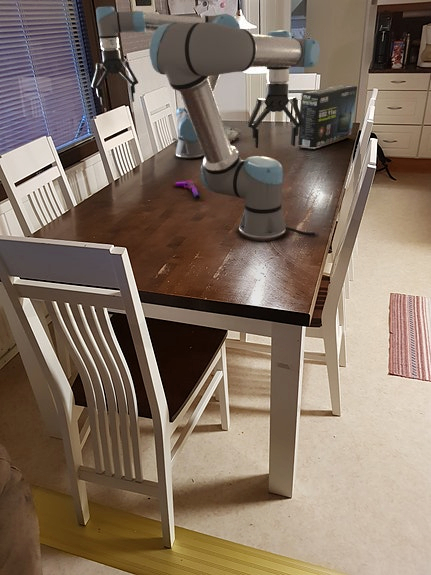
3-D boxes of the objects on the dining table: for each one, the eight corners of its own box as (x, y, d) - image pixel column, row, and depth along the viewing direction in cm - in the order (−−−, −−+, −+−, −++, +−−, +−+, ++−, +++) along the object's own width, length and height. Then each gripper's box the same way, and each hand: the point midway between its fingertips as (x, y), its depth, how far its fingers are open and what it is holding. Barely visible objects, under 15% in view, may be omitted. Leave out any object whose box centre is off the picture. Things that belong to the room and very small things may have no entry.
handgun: (174, 185, 194) (174, 180, 193) (192, 183, 195) (192, 178, 194) (181, 201, 176) (180, 197, 175) (200, 199, 177) (200, 194, 176)
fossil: (231, 137, 247) (212, 119, 250) (221, 153, 253) (203, 136, 256) (247, 135, 260) (230, 119, 264) (237, 151, 267) (220, 135, 270)
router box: (314, 151, 231) (318, 94, 217) (296, 148, 237) (299, 92, 224) (352, 138, 251) (358, 85, 238) (335, 135, 258) (340, 83, 245)
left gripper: (82, 51, 186) (91, 107, 197) (141, 48, 194) (147, 101, 205) (79, 51, 192) (88, 104, 203) (136, 47, 200) (142, 99, 211)
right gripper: (309, 80, 160) (305, 142, 171) (239, 82, 158) (239, 145, 169) (316, 82, 154) (311, 146, 165) (243, 85, 151) (242, 150, 162)
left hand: (117, 103), depth 204 cm, fingers open, 13 cm apart
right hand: (274, 146), depth 167 cm, fingers open, 13 cm apart
